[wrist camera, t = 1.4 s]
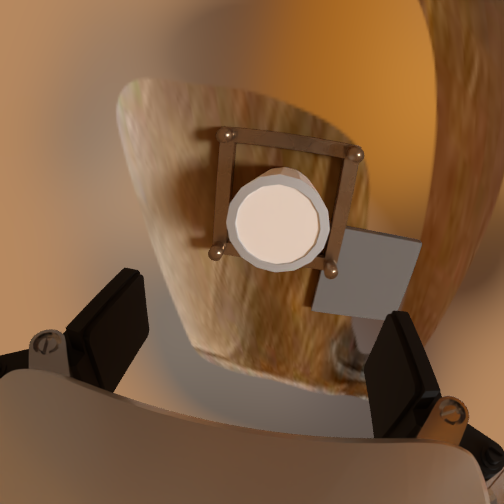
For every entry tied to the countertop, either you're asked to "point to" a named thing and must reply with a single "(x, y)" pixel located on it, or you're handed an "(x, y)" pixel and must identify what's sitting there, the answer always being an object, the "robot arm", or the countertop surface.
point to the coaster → (368, 275)
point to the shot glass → (278, 221)
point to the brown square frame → (295, 142)
